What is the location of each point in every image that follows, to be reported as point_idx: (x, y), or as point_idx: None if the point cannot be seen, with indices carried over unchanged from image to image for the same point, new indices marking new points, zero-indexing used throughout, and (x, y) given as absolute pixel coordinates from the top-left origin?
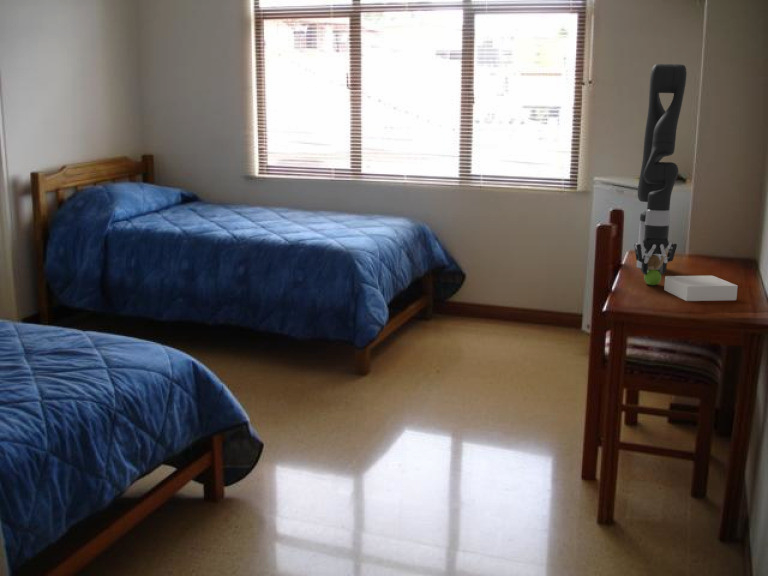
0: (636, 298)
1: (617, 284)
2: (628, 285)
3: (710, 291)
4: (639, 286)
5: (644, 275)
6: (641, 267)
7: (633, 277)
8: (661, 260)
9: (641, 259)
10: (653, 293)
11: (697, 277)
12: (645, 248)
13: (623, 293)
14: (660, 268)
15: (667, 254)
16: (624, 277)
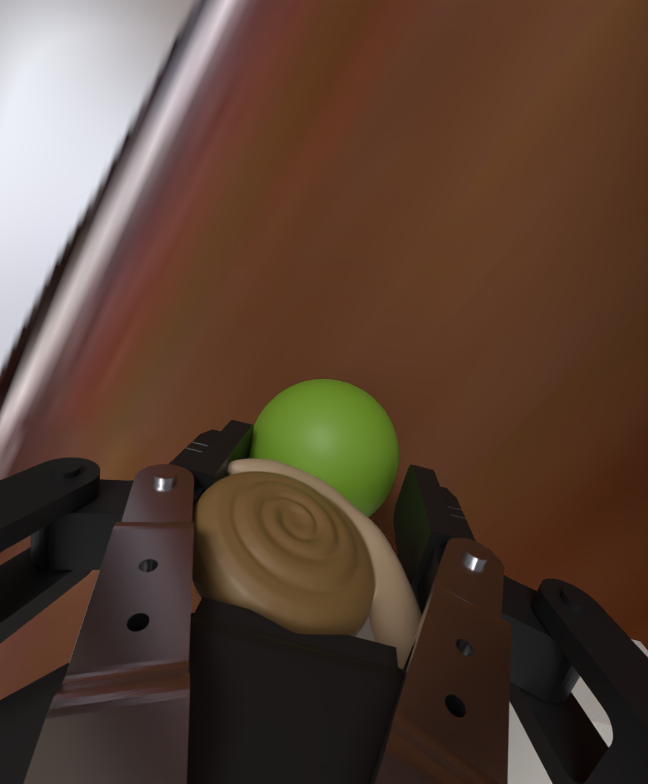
0: (46, 655)
1: (92, 308)
2: (158, 367)
3: None
4: (220, 421)
5: (256, 421)
6: (184, 451)
7: (398, 40)
8: (374, 636)
9: (69, 574)
10: (195, 605)
11: (525, 760)
12: (7, 713)
13: (23, 550)
14: (416, 494)
15: (591, 665)
16: (306, 11)
